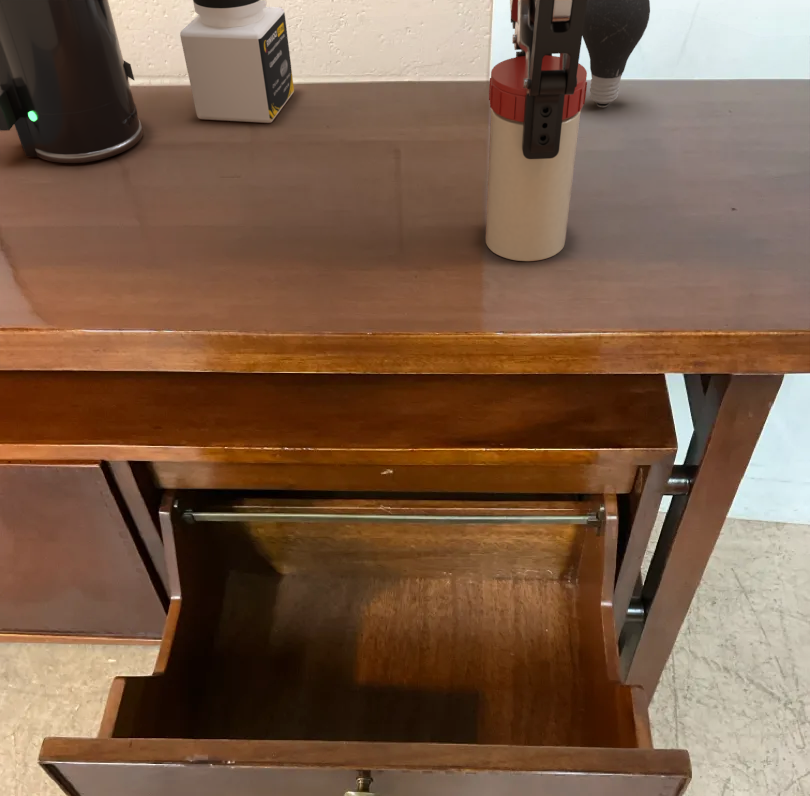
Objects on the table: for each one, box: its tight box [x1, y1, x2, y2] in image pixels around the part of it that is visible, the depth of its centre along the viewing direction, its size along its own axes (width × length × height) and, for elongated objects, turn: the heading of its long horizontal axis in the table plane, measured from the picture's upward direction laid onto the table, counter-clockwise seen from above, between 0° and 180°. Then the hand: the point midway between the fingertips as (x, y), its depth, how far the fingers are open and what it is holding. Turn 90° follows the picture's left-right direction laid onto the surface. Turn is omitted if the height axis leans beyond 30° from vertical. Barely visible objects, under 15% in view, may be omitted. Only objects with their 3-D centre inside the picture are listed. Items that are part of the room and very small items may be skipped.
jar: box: [485, 108, 582, 262], centre depth 55 cm, size 6×6×11 cm
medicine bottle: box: [179, 0, 295, 124], centre depth 72 cm, size 7×7×12 cm
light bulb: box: [582, 0, 651, 108], centre depth 71 cm, size 6×6×10 cm
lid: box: [488, 55, 588, 122], centre depth 52 cm, size 6×6×2 cm
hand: (534, 133), depth 54 cm, fingers closed on lid, 5 cm apart
